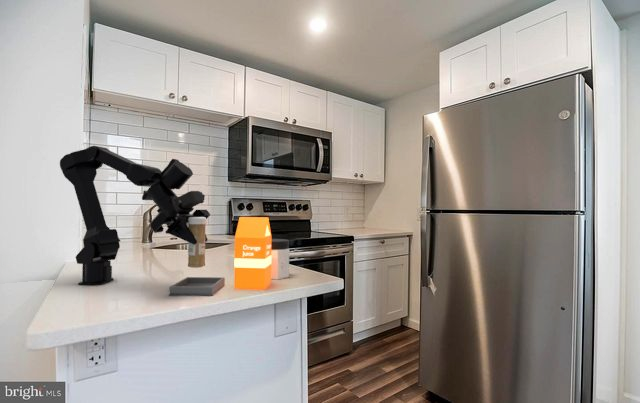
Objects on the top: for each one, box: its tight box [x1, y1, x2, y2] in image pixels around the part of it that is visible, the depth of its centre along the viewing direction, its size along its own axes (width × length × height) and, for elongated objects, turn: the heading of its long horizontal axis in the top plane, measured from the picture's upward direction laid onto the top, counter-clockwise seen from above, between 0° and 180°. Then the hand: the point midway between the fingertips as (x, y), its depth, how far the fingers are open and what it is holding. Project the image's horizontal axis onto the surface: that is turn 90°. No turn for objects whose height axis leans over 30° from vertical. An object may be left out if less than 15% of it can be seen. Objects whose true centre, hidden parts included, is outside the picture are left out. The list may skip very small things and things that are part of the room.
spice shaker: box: [187, 217, 207, 269], centre depth 87 cm, size 5×5×13 cm
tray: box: [169, 276, 226, 297], centre depth 88 cm, size 11×11×2 cm
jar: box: [271, 238, 290, 280], centre depth 105 cm, size 9×8×12 cm
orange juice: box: [233, 216, 272, 291], centre depth 93 cm, size 8×9×20 cm
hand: (201, 242), depth 87 cm, fingers closed on spice shaker, 4 cm apart
